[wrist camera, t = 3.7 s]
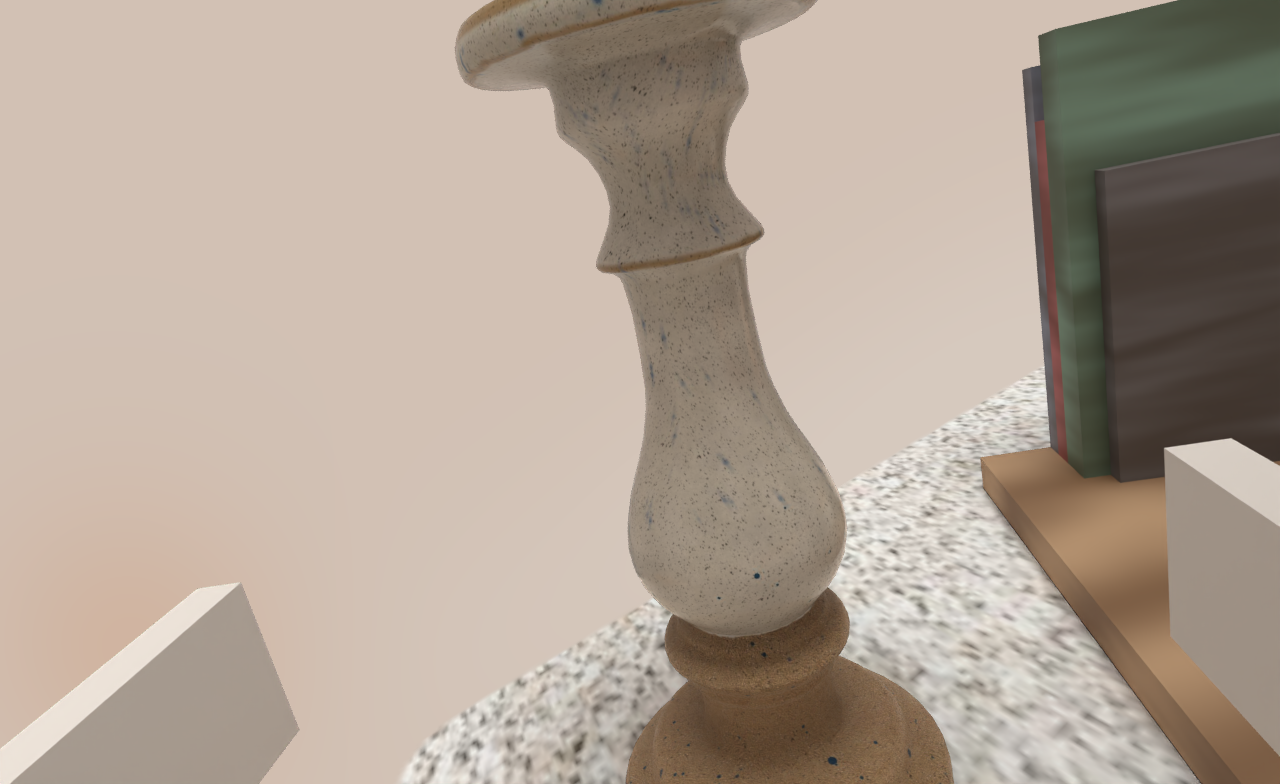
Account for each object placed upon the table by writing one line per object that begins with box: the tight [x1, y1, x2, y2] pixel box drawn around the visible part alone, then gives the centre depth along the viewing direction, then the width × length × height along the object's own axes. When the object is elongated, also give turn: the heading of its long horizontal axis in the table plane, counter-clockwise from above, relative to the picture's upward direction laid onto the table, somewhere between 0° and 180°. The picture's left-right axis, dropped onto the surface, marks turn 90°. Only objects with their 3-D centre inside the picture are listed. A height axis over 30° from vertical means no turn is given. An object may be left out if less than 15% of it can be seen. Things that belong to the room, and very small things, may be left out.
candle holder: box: [455, 0, 954, 784], centre depth 19 cm, size 9×9×20 cm
